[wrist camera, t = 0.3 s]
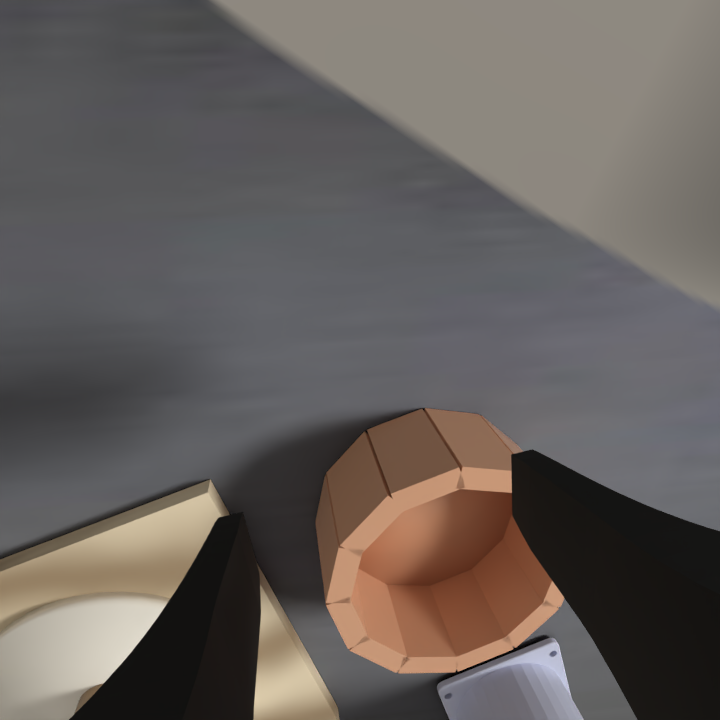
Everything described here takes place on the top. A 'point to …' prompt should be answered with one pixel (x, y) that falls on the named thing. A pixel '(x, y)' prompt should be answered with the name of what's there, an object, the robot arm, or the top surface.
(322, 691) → the board
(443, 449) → the bowl
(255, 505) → the top surface
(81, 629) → the lid
